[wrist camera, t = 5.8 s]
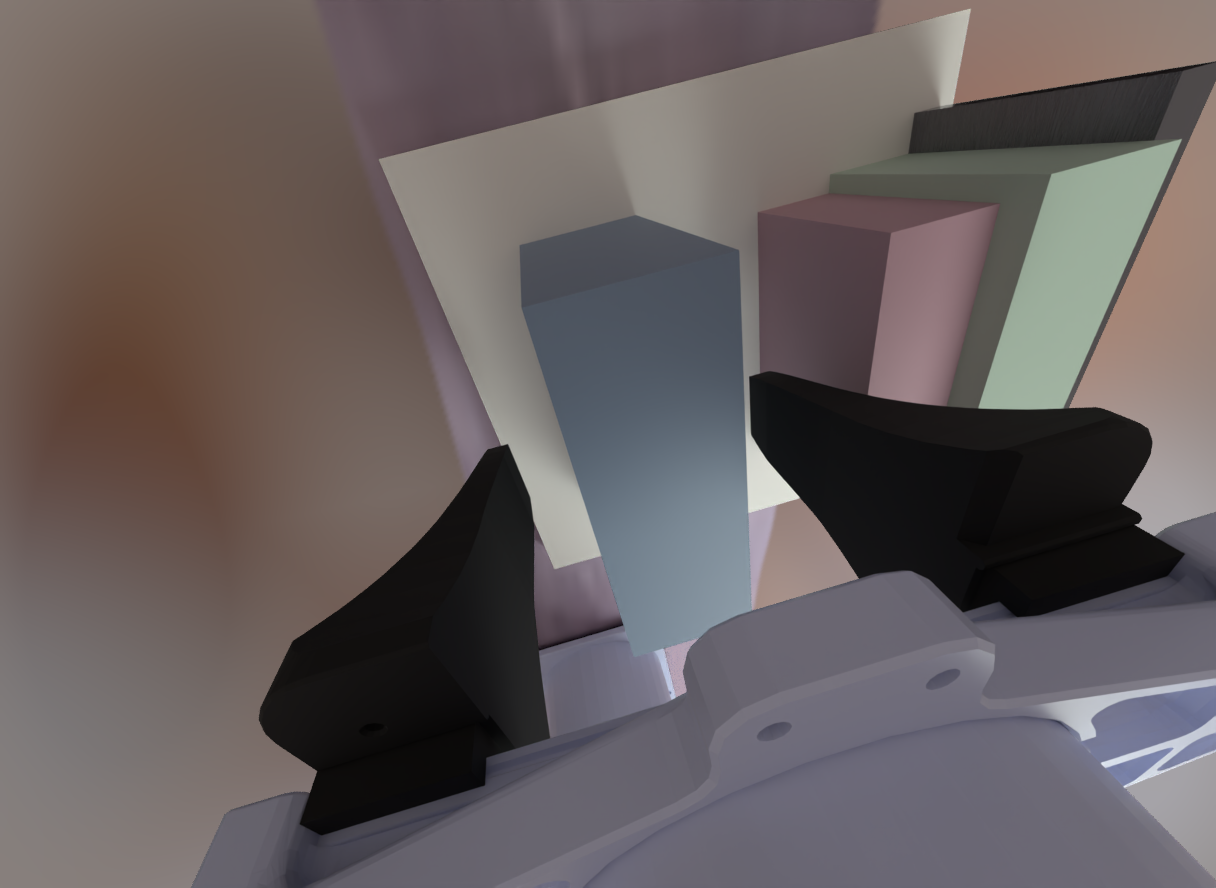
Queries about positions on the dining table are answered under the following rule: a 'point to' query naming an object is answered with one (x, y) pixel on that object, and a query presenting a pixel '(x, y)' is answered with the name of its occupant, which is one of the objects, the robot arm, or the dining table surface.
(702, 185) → the shelf board
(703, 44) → the dining table surface
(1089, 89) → the bookend
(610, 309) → the slate book
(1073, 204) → the books
